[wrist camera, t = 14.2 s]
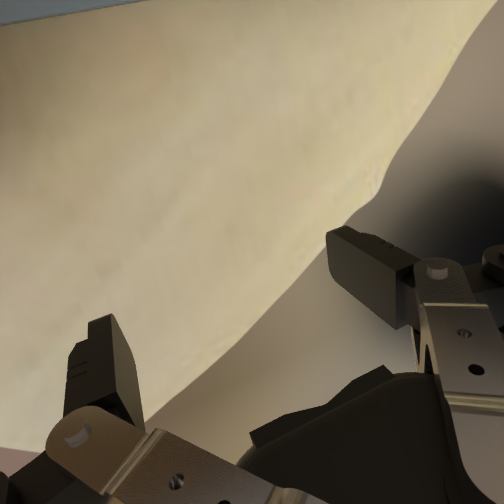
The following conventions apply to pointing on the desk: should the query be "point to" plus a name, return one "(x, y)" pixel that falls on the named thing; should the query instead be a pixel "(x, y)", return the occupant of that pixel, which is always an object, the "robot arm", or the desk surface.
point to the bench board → (49, 8)
